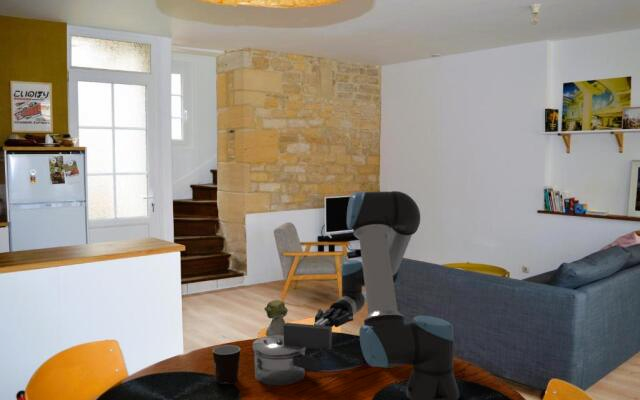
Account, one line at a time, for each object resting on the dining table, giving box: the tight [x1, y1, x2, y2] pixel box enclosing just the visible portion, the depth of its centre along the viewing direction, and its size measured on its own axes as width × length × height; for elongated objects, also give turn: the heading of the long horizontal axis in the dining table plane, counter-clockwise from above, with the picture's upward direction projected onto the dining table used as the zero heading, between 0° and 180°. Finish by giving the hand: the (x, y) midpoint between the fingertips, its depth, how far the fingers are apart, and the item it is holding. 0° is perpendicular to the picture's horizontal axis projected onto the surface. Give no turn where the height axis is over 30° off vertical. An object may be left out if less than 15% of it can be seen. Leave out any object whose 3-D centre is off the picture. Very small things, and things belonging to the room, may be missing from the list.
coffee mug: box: [212, 344, 241, 384], centre depth 186 cm, size 12×9×10 cm
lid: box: [252, 322, 333, 356], centre depth 187 cm, size 26×17×8 cm
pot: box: [253, 349, 323, 386], centre depth 187 cm, size 28×17×9 cm, turn 48°
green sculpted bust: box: [264, 299, 289, 337], centre depth 212 cm, size 14×20×16 cm
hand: (317, 328), depth 186 cm, fingers closed
